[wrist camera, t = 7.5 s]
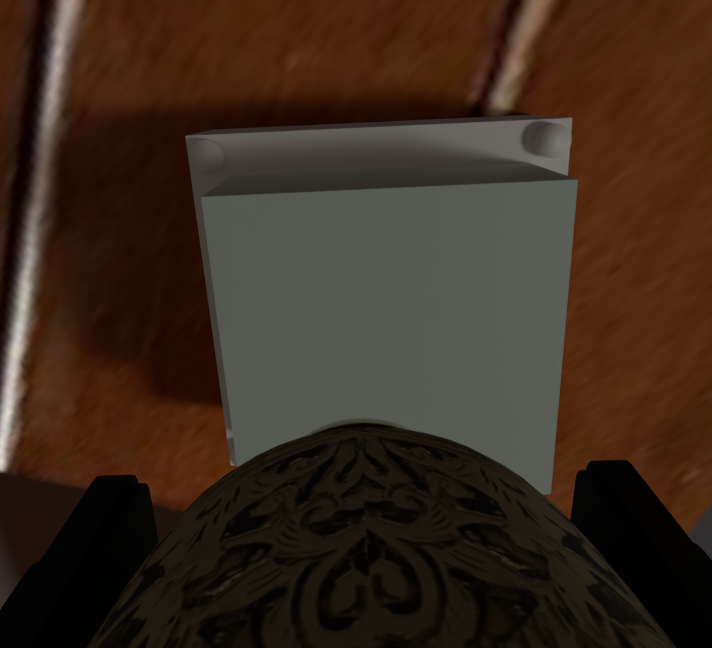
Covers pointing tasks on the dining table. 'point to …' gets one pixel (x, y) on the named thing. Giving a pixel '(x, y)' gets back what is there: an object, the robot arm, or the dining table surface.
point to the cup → (375, 557)
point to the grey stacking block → (390, 279)
